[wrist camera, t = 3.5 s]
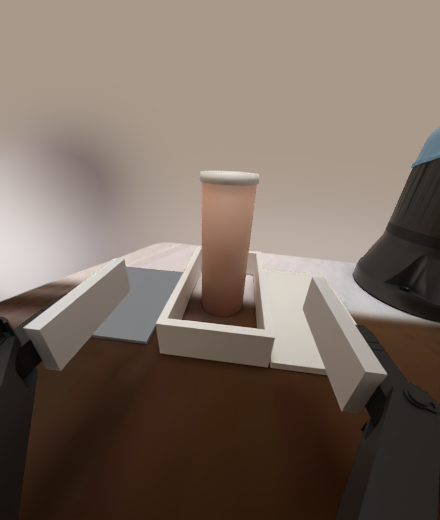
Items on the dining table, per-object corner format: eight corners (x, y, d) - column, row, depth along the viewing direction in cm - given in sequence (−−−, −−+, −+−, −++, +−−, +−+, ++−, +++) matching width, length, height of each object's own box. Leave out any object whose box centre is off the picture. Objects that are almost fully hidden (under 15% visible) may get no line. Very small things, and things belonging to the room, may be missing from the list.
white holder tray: (322, 278, 34) (329, 257, 32) (388, 383, 18) (410, 353, 16) (197, 267, 35) (197, 246, 33) (160, 353, 20) (155, 323, 18)
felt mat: (184, 274, 33) (183, 272, 33) (147, 344, 21) (146, 341, 20) (126, 268, 34) (126, 266, 34) (57, 333, 21) (56, 330, 21)
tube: (243, 291, 29) (257, 172, 22) (243, 319, 24) (261, 177, 17) (204, 287, 30) (205, 169, 22) (196, 314, 25) (194, 173, 17)
